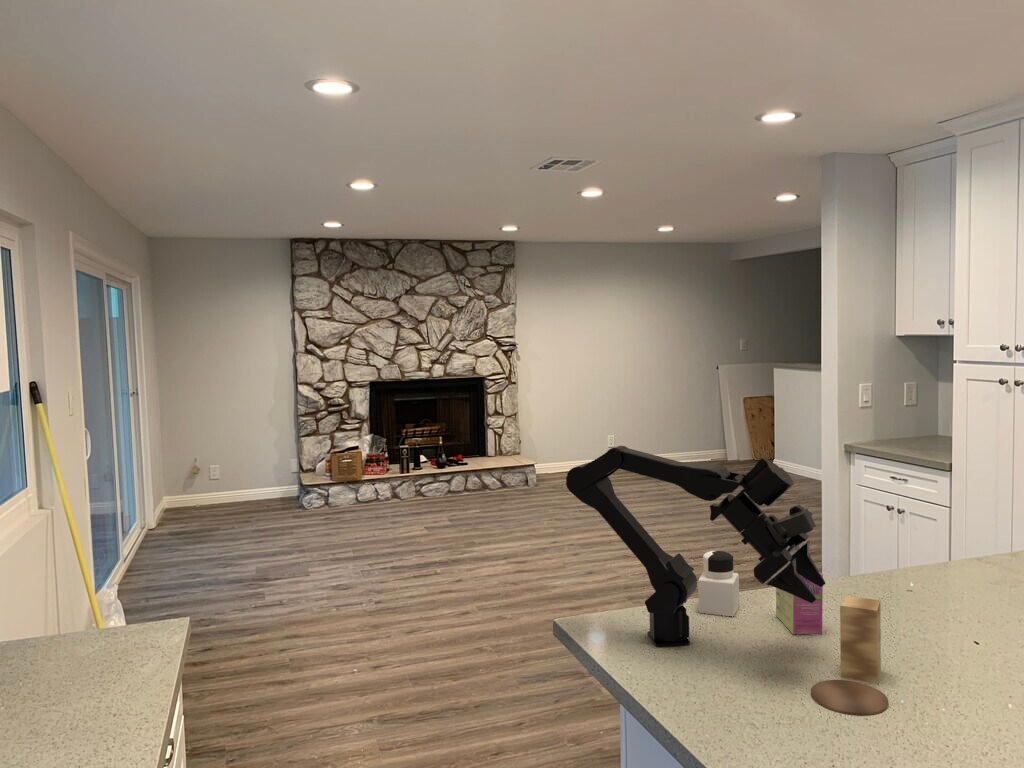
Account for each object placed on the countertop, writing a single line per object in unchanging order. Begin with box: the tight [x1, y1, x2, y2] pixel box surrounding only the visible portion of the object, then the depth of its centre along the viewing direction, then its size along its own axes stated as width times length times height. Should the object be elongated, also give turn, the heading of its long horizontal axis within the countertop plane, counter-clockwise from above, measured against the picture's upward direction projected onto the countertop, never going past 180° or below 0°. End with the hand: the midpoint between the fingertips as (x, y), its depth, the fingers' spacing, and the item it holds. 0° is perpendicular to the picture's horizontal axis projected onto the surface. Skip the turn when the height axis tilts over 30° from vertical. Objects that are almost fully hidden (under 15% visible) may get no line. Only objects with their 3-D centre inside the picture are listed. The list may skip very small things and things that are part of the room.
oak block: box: [839, 595, 882, 684], centre depth 128 cm, size 6×6×12 cm
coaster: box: [810, 679, 889, 716], centre depth 119 cm, size 11×11×1 cm
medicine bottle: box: [697, 550, 740, 618], centre depth 160 cm, size 7×7×12 cm
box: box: [775, 572, 824, 636], centre depth 150 cm, size 10×6×12 cm, turn 179°
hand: (819, 593), depth 130 cm, fingers open, 9 cm apart
